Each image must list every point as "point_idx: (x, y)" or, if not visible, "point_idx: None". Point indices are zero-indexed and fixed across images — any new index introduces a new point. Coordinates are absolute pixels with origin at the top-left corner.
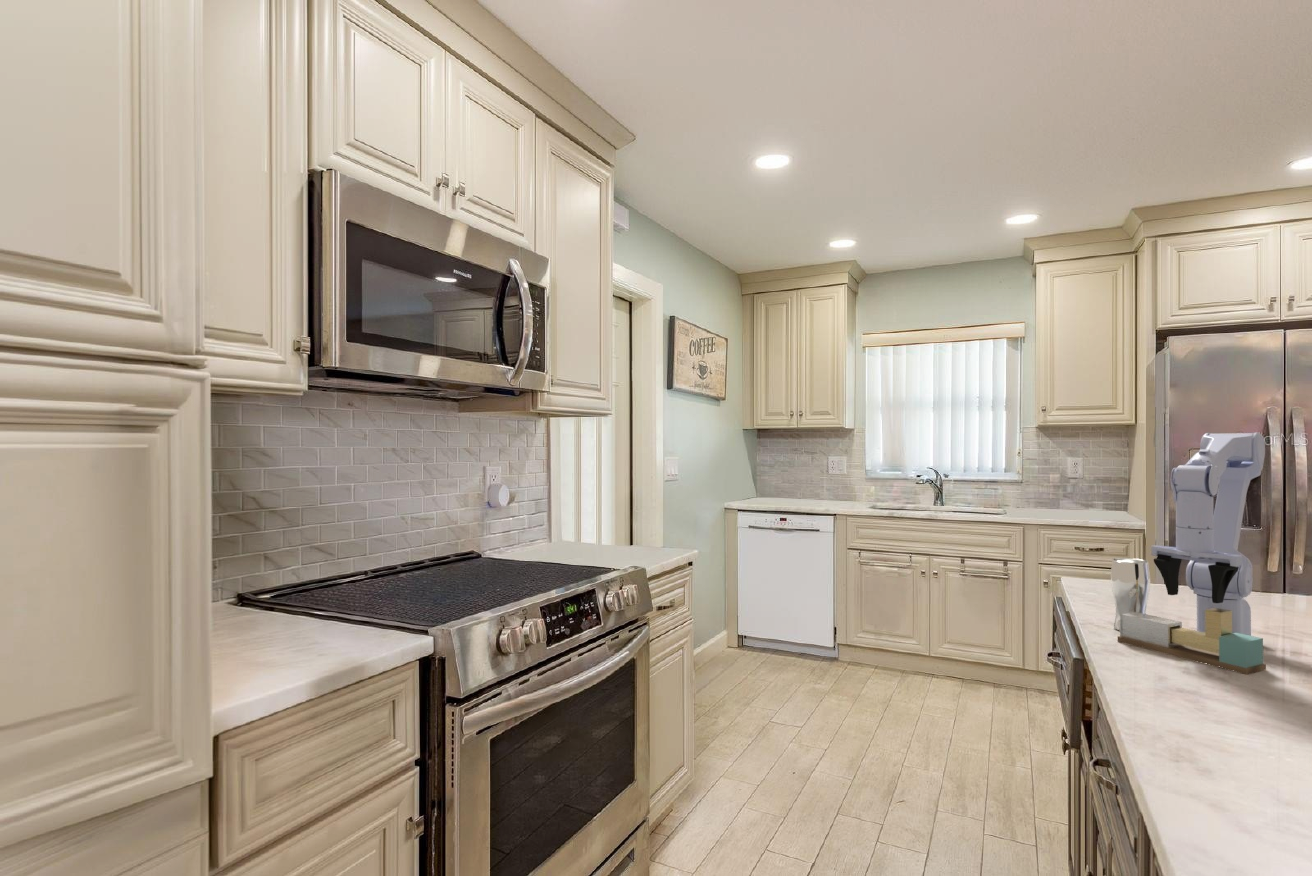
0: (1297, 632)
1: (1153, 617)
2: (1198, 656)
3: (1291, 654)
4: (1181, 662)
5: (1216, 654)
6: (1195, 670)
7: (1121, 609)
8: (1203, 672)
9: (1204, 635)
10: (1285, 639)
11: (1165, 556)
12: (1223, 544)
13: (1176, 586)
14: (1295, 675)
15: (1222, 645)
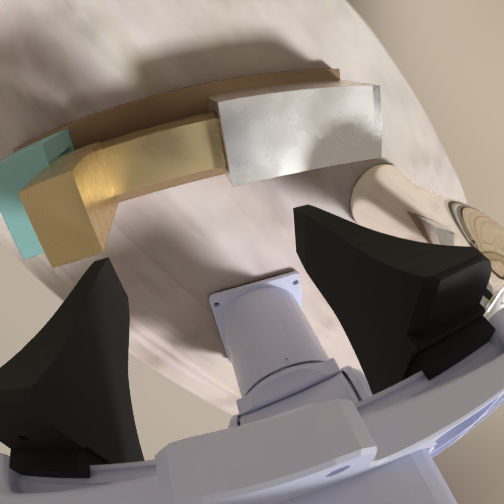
0: None
1: (310, 146)
2: (115, 109)
3: (145, 349)
4: (127, 59)
5: None
6: (66, 42)
7: (418, 187)
8: (50, 50)
9: (115, 154)
10: (224, 393)
11: (453, 347)
12: None
13: (313, 269)
14: (16, 246)
15: (43, 141)
